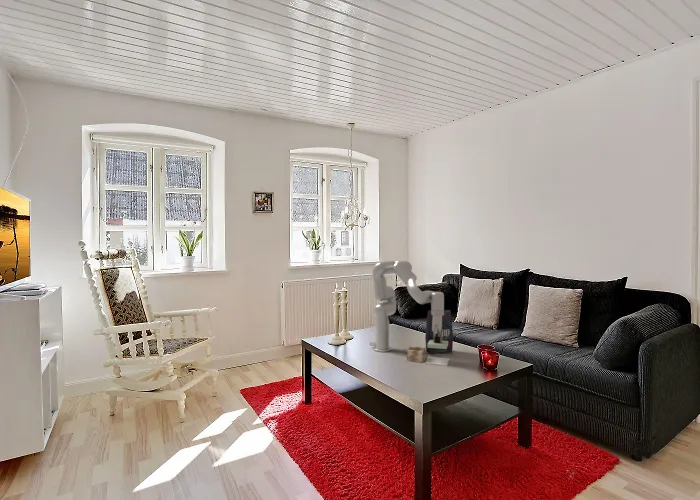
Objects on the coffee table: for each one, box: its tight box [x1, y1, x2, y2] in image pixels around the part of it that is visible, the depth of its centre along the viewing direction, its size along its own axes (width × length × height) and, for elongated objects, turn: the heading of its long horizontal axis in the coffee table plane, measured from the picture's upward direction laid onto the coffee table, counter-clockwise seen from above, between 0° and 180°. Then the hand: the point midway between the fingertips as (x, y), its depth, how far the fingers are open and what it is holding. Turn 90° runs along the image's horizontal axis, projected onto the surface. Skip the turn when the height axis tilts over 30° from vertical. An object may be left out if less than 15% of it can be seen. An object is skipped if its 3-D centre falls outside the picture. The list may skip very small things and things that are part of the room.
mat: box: [424, 356, 450, 367], centre depth 241 cm, size 13×13×1 cm
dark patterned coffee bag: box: [424, 309, 454, 355], centre depth 259 cm, size 8×16×28 cm, turn 98°
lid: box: [427, 334, 448, 349], centre depth 240 cm, size 11×10×7 cm
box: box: [406, 345, 426, 363], centre depth 245 cm, size 10×9×6 cm
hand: (437, 341), depth 240 cm, fingers closed on lid, 3 cm apart
